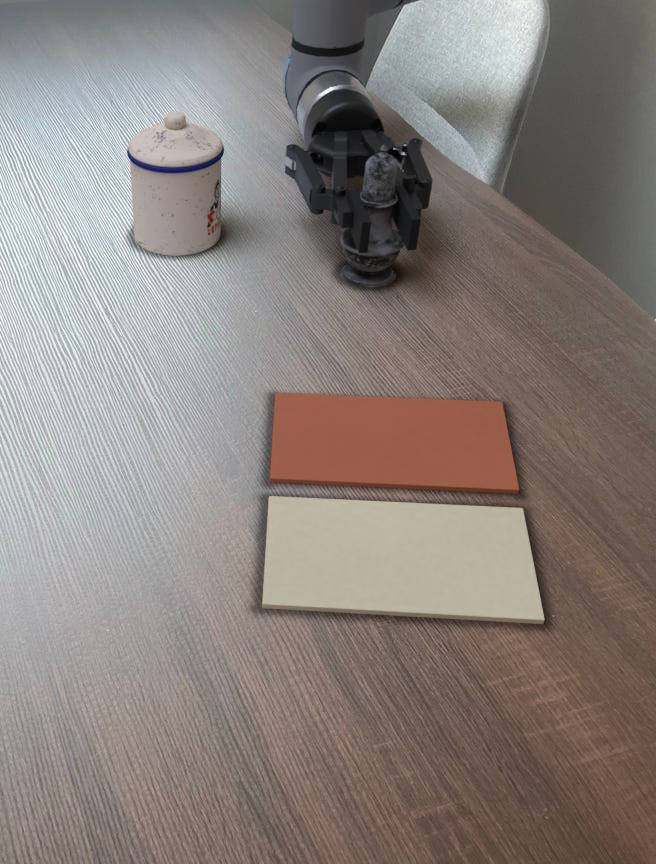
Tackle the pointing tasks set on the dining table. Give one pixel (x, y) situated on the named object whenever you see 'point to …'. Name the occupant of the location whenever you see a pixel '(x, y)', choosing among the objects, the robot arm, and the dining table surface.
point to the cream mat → (400, 560)
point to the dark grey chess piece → (375, 226)
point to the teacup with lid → (176, 186)
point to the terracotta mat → (392, 443)
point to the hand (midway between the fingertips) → (389, 236)
